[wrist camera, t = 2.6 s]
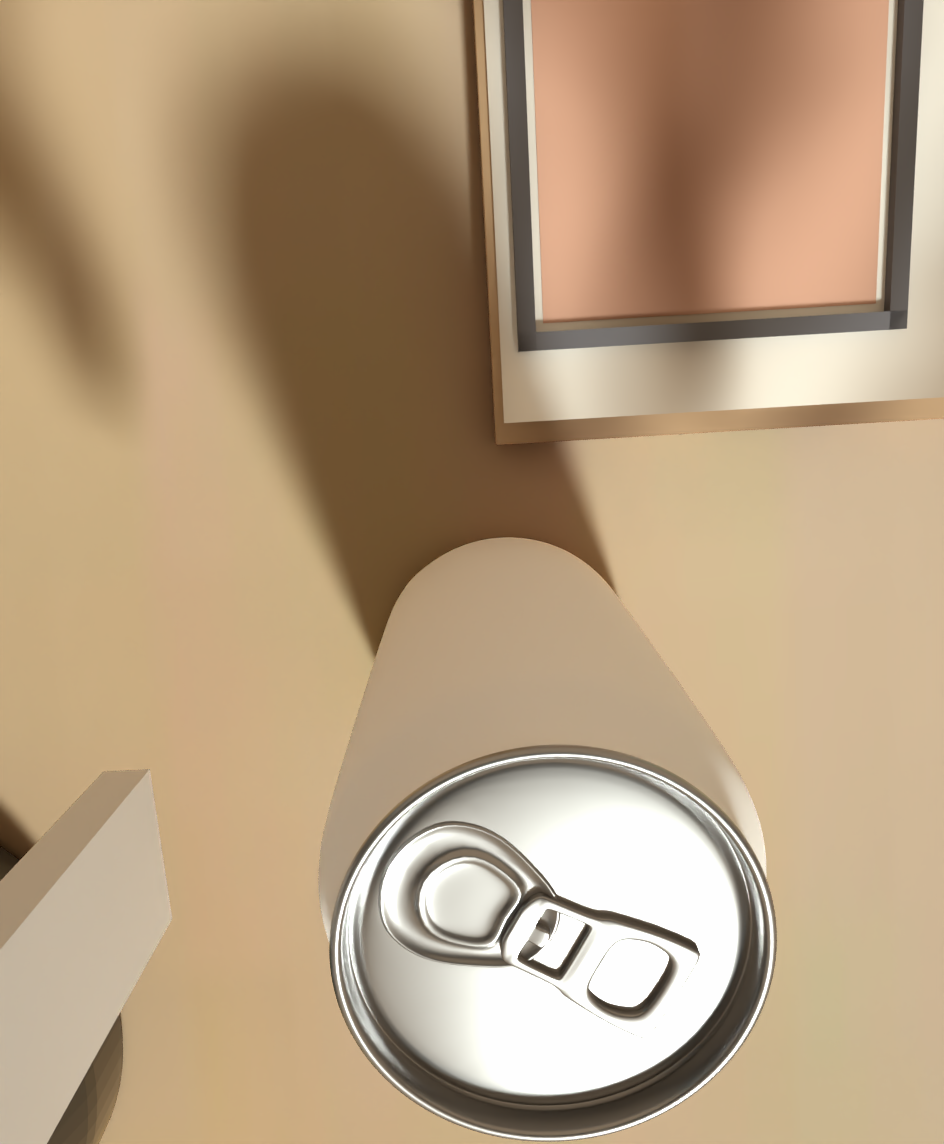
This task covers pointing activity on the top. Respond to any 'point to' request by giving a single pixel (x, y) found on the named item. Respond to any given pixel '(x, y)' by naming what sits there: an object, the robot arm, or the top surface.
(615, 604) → the can
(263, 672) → the top surface
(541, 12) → the tan rectangular board
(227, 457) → the top surface
